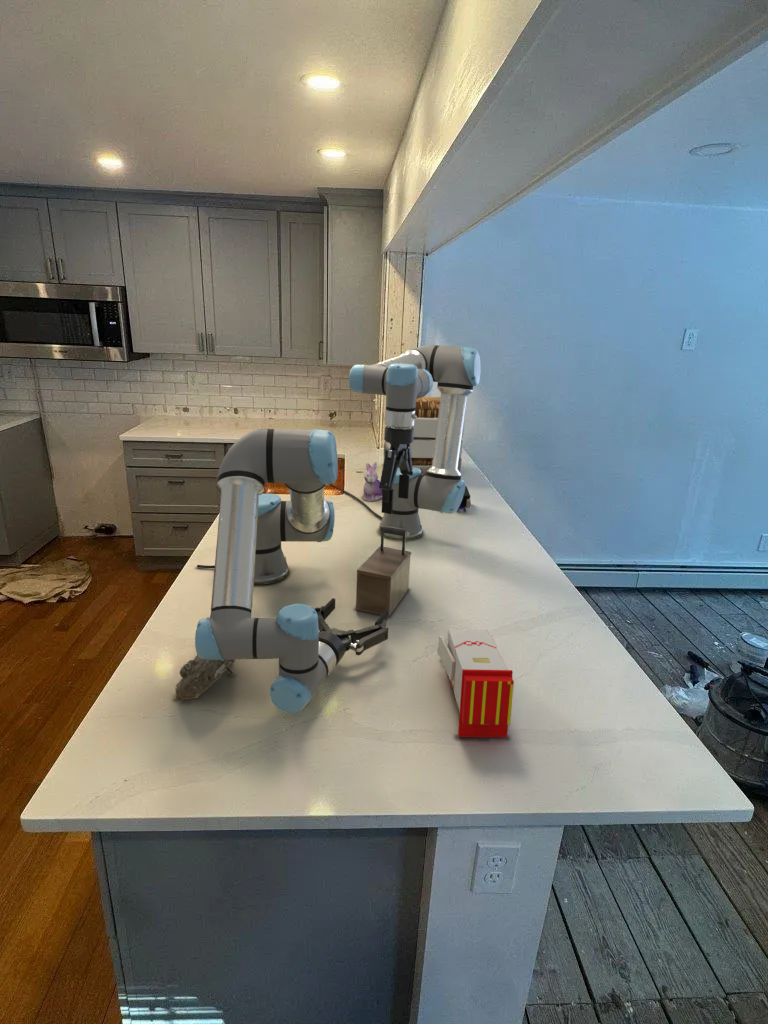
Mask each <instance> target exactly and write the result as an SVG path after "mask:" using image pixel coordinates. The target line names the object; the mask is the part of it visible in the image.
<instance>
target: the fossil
mask: <svg viewBox="0 0 768 1024" xmlns="http://www.w3.org/2000/svg"><path fill="white" fill-rule="evenodd" d="M234 661H235V660H224V661H222V660H209V659H201V658H200V657H199V656H198V655H197V654H196V655H195V657H194V659H190V660H188V661H187V662H186V663H185V664H183V666H181V668H180V670H179V672H178V673H179V675H180V677H181V678H180V680H179V682H178V683H176V685H175V686H176V688H174V690H175V697H176V698H177V699H181V700H182V701H186V700H187V701H188V700H191V699H198V698H199V697H200V696H201V695H202V694H203V693H204V692H206V691H207V690H208V689H209V688H210V687H212V685H213V684H214V683H215V682H217V680H219V679H220V677H221V676H222V674H223V673H224V672H225V671H227V672H228V673H229V674H230V675H233V674H234V672H233V671H232V670H231V669H230V668H229V666H230V664H231V663H234Z"/></svg>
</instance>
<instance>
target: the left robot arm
mask: <svg viewBox="0 0 768 1024" xmlns="http://www.w3.org/2000/svg"><path fill="white" fill-rule="evenodd" d="M338 462H339V459H338V450H337V440H336V436H335V434H334V433H333V432H332V431H331V430H327V429H319V428H313V429H297V428H295V429H294V428H293V429H291V428H269V427H266V428H265V427H264V428H257V429H253V430H251V431H249V432H246V433H245V434H244V435H242V436H241V437H239V439H237V440H236V441H235V442H234V443H233V444H232V445H231V446H230V448H228V451H227V452H226V454H225V455H224V457H223V459H222V461H221V463H220V466H219V469H218V474H217V479H216V489H217V491H218V492H219V493H220V501H219V502H220V503H219V512H218V514H219V515H218V524H217V526H218V527H217V534H216V535H217V536H216V547H215V558H214V559H215V560H214V565H205V564H196V568H200V569H213V582H212V584H213V585H212V593H211V604H210V615H209V617H206V618H201V619H200V620H199V621H198V622H197V625H196V630H195V633H194V634H195V635H194V636H195V637H194V647H195V652H196V656H197V655H198V656H199V657H200V658H201V659H209V660H222V661H224V660H234V661H235V660H278V676H276V677H275V679H273V682H272V683H271V685H270V687H269V693H268V694H269V698H270V700H271V702H272V704H273V705H274V707H276V708H277V709H278V710H279V711H280V712H282V713H286V714H290V715H291V714H293V715H294V714H297V713H299V712H301V711H302V710H303V709H304V708H305V707H306V706H307V704H309V703H310V702H311V701H312V700H313V698H314V696H315V695H316V694H317V692H318V691H319V690H320V688H321V687H322V686H323V684H324V683H325V681H326V679H327V678H328V677H329V676H330V675H331V673H332V672H333V670H335V668H336V667H337V665H338V664H339V663H340V662H341V660H342V659H343V657H345V656H344V655H345V654H346V652H348V651H350V650H351V651H354V652H355V655H356V656H360V655H361V656H362V654H363V653H364V652H365V651H367V650H369V649H371V648H373V647H375V646H377V645H379V644H381V643H383V642H385V641H387V640H389V633H390V631H389V630H390V629H389V627H388V617H387V616H388V610H384V611H383V613H382V614H381V615H379V617H378V618H377V619H376V621H375V622H374V625H371V626H368V627H364V628H359V629H357V630H354V629H349V630H341V629H338V628H335V627H333V628H330V626H329V624H328V623H327V622H326V619H327V618H328V617H329V616H330V615H331V614H332V613H333V612H334V611H335V609H336V598H334V597H331V599H330V600H329V601H328V602H327V603H326V604H325V605H321V607H315V608H314V607H312V606H310V605H308V604H305V603H293V604H289V605H288V604H287V605H285V606H283V607H282V608H280V609H279V611H278V612H277V616H276V617H252V612H253V602H254V585H258V586H260V585H270V584H273V583H276V582H279V581H281V580H283V579H285V578H286V577H287V576H288V574H289V565H288V563H287V558H286V556H285V554H284V552H283V549H282V542H283V543H285V542H292V543H293V542H300V543H301V542H303V543H304V542H307V543H308V542H313V543H315V542H316V543H322V542H329V541H330V540H332V537H333V535H334V528H335V516H336V515H335V506H334V503H333V502H332V501H330V500H329V501H328V500H327V499H325V487H326V486H327V485H328V486H329V484H335V483H336V482H337V479H338V473H339V472H338V470H339V463H338ZM266 483H267V484H283V485H285V487H286V488H287V489H288V490H289V491H288V492H289V498H290V500H282V499H281V497H280V495H278V494H277V493H275V494H273V493H264V492H265V484H266Z"/></svg>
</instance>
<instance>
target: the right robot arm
mask: <svg viewBox="0 0 768 1024" xmlns="http://www.w3.org/2000/svg"><path fill="white" fill-rule="evenodd" d="M481 370H482V365H481V358H480V354H479V352H478V350H477V349H476V348H474V347H468V346H455V345H437V344H429V345H421V346H418V347H414V348H411V349H408V350H405V351H403V352H402V353H401V354H400V355H399V356H396V357H393V358H390V359H386V360H384V361H380V362H377V363H373V364H368V365H367V364H364V363H362V364H354V365H353V366H352V367H351V368H350V370H349V374H348V385H349V388H350V390H351V391H352V392H355V393H359V394H367V395H378V396H380V395H381V396H385V411H384V425H385V427H384V433H383V437H384V438H383V439H384V442H388V443H390V444H391V446H390V449H389V450H387V449H386V451H385V460H384V459H383V463H384V464H383V465H382V471H381V475H380V480H379V481H380V485H379V489H382V498H381V513H382V514H383V515H382V516H381V515H380V514H378V513H376V512H375V511H374V510H373V509H371V508H370V507H369V506H368V505H367V504H366V503H365V502H364V501H362V500H361V499H360V498H358V497H357V496H356V495H354V494H352V493H351V492H349V491H347V490H345V489H343V488H341V487H338V486H337V485H334V483H332V484H328V486H330V487H332V488H335V489H336V490H339V491H340V492H342V493H345V494H346V495H348V496H350V497H352V498H353V499H354V500H356V501H358V502H359V503H360V504H361V505H363V507H365V508H366V509H367V510H368V511H369V512H370V513H372V514H373V515H374V516H375V517H377V518H379V519H380V520H381V522H379V525H378V533H379V534H380V535H381V532H380V527H381V525H384V526H390V527H396V528H402V529H407V535H406V541H410V540H415V539H418V538H420V537H421V536H422V535H423V525H422V524H421V518H420V515H419V509H420V510H427V511H433V512H438V513H441V514H443V513H444V514H454V513H456V512H458V511H457V509H458V508H459V506H460V504H461V501H462V499H463V495H464V491H465V486H466V481H465V480H463V479H462V473H460V472H459V471H458V461H459V453H460V446H461V440H462V439H463V438H462V431H463V424H464V425H465V421H464V420H465V416H466V408H467V401H468V397H469V395H470V394H472V393H473V391H474V387H477V386H478V385H479V384H480V381H481V375H482V374H481V373H482V372H481ZM434 383H437V384H436V385H437V386H436V388H437V390H438V391H439V392H440V397H441V398H440V406H439V414H438V422H437V430H436V438H435V446H434V454H433V462H432V465H430V466H429V468H428V469H427V470H426V473H425V474H422V470H421V468H419V467H416V466H412V459H411V449H410V446H411V443H412V442H413V438H414V429H413V428H412V426H414V419H416V418H417V416H416V415H415V405H416V399H417V398H421V397H426V396H427V395H428V394H429V393H430V392H431V390H432V389H433V387H434ZM398 467H399V468H398ZM384 538H387V539H389V540H395V541H402V539H403V536H398V535H393V534H387V533H384Z"/></svg>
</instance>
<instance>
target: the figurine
mask: <svg viewBox="0 0 768 1024" xmlns="http://www.w3.org/2000/svg"><path fill="white" fill-rule="evenodd" d="M365 464H366V465H365V466H366V467H365V470H366V471H365V474H364V475H363V476H364V480H365V483H364V485H363V495H362V498H363V500H364V501H368V502H373V501H378V500H382V489H379V485H380V480H379V475H378V473H377V468H378V462H377V461H375V462H374V463H373V464H372V465H370V463H369V462H366V463H365Z"/></svg>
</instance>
